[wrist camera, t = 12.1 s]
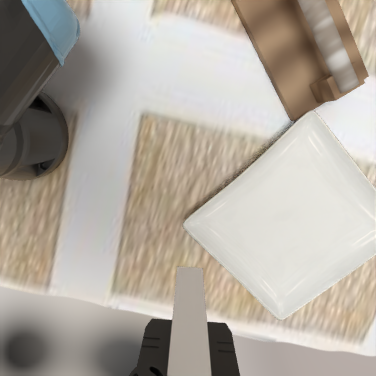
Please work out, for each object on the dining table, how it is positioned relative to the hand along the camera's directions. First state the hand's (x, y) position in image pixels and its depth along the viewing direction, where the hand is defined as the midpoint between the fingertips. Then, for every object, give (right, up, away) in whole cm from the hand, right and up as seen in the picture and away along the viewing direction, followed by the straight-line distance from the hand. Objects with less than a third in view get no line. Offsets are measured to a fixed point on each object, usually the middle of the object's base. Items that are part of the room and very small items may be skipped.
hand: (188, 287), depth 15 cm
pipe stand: (+14, +31, +21) cm, 40 cm away
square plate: (+18, 0, +30) cm, 35 cm away
